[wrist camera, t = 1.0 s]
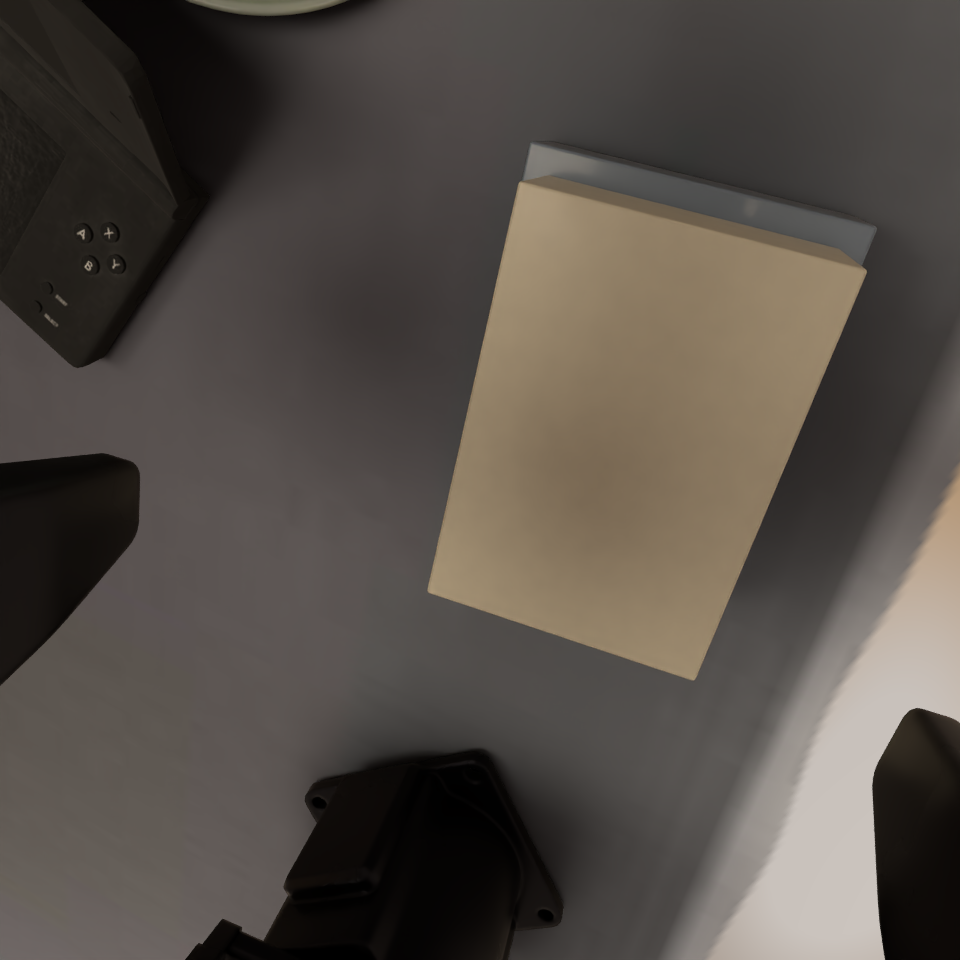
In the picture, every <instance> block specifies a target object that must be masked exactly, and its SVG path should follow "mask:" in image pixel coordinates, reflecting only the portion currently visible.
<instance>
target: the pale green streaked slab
mask: <svg viewBox="0 0 960 960" xmlns="http://www.w3.org/2000/svg"><path fill="white" fill-rule="evenodd" d="M185 1H188V2H191V3H194V4H197V5H201V6H204V7H207V8H211V9H215V10H220V11H224V12H229V13H236V14H242V15H255V16H280V15H293V14H300V13H307V12H312V11H316V10H320V9H324V8H328V7H332V6H334V5H337V4H340V3H343V2H346V1H348V0H185Z"/></svg>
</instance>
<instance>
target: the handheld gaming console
mask: <svg viewBox="0 0 960 960" xmlns="http://www.w3.org/2000/svg"><path fill="white" fill-rule="evenodd" d="M209 197H210V196H209V195H208V194H207V193H206V192H205V191H204V190H203V189H202V188H201V187H200V186H199V185H198V184H197V183H196V182H195V181H194V180H193V179H192V178H191V177H190V176H189V175H188V174H187V173H186V172H185V171H184V170H183V169H182V168H181V167H180V166H179V164H178V161H177V158H176V155H175V153H174V150H173V147H172V144H171V142H170V139H169V136H168V133H167V131H166V128H165V125H164V122H163V120H162V117H161V114H160V111H159V109H158V106H157V103H156V100H155V97H154V95H153V92H152V89H151V86H150V84H149V81H148V78H147V75H146V73H145V72H144V70H143V68H142V66H141V64H140V62H139V60H138V58H137V56H136V55H135V54H134V52H133V51H132V50H131V49H130V48H129V47H128V46H127V45H126V44H125V43H124V42H122V41H121V40H120V39H119V38H118V37H117V36H116V35H115V34H114V33H113V32H112V31H111V30H110V29H109V28H108V27H107V26H106V25H105V24H104V23H103V22H102V21H101V20H100V19H99V18H98V17H97V16H96V15H95V14H94V13H93V12H92V11H91V10H90V9H89V8H88V7H87V6H86V5H85V4H84V3H83V2H82V1H81V0H0V300H1V301H2V302H3V303H4V304H5V305H6V306H8V307H9V308H10V309H11V310H12V311H13V312H14V313H15V314H16V315H17V316H18V317H19V318H21V319H22V320H23V321H24V322H25V323H26V324H27V325H28V326H29V327H30V328H31V329H32V330H33V331H35V332H36V333H37V334H38V335H39V336H40V337H41V338H42V339H43V340H44V341H45V342H46V343H48V344H49V345H50V346H51V347H52V348H53V349H54V350H55V351H56V352H57V353H58V354H59V355H61V356H62V357H63V358H64V359H65V360H66V361H67V362H68V363H69V364H71V365H72V366H73V367H76V368H79V367H84V366H86V365H89V364H91V363H93V362H95V361H97V360H99V359H101V358H103V357H104V356H105V354H106V353H107V351H108V349H109V348H110V346H111V345H112V343H113V342H114V340H115V339H116V337H117V336H118V334H119V332H120V331H121V329H122V328H123V326H124V325H125V323H126V322H127V320H128V319H129V317H130V315H131V314H132V312H133V311H134V309H135V307H136V306H137V304H138V303H139V302H140V301H142V300H143V298H144V297H145V295H146V294H147V291H146V290H147V289H148V288H149V286H150V285H151V283H152V282H153V281H154V279H155V278H156V276H157V275H158V273H159V272H160V270H161V269H162V268H163V266H164V265H165V263H166V262H167V260H168V259H169V257H170V256H171V254H172V253H173V251H174V250H175V248H176V246H177V245H178V243H179V242H180V240H181V239H182V237H183V236H184V234H185V233H186V231H187V230H188V228H189V227H190V225H191V224H192V222H193V221H194V219H195V218H196V216H197V215H198V213H199V212H200V210H201V209H202V208H203V206H204V205H205V203H206V202H207V200H208V199H209Z"/></svg>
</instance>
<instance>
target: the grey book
mask: <svg viewBox="0 0 960 960" xmlns="http://www.w3.org/2000/svg"><path fill="white" fill-rule="evenodd" d="M547 175H549V176H553V177H557V178H561V179H565V180H569V181H573V182H577V183H581V184H585V185H589V186H593V187H597V188H601V189H605V190H609V191H613V192H617V193H620V194H624V195H628V196H632V197H636V198H640V199H644V200H648V201H652V202H656V203H660V204H664V205H668V206H672V207H676V208H680V209H684V210H688V211H692V212H696V213H699V214H703V215H707V216H711V217H715V218H719V219H723V220H727V221H731V222H735V223H739V224H743V225H747V226H751V227H755V228H759V229H763V230H767V231H771V232H775V233H778V234H782V235H786V236H790V237H794V238H798V239H802V240H806V241H810V242H814V243H818V244H822V245H826V246H830V247H834V248H838V249H840V250H841V251H842V252H844V253H845V254H846V255H848V256H849V257H850V258H851V259H853V260H854V261H855V262H857V263H858V264H859V265H861V266H862V264H863V262H864V260H865V257H866V255H867V252H868V250H869V248H870V245H871V243H872V240H873V238H874V236H875V233H876V231H877V228H876V227H875V226H874V225H872V224H870V223H868V222H865V221H863V220H861V219H859V218H857V217H855V216H852V215H848V214H844V213H840V212H836V211H832V210H828V209H824V208H820V207H815V206H811V205H807V204H803V203H799V202H795V201H791V200H787V199H783V198H779V197H775V196H771V195H767V194H763V193H759V192H755V191H751V190H747V189H743V188H739V187H735V186H731V185H726V184H722V183H718V182H714V181H710V180H706V179H702V178H698V177H694V176H690V175H686V174H682V173H678V172H674V171H670V170H666V169H662V168H658V167H654V166H650V165H646V164H641V163H637V162H633V161H629V160H625V159H621V158H617V157H613V156H609V155H605V154H601V153H597V152H593V151H589V150H585V149H581V148H577V147H573V146H569V145H565V144H561V143H556V142H552V141H533V142H531V143H530V145H529V149H528V154H527V158H526V163H525V167H524V171H523V176H522V180H521V181H525V180H530V179H534V178H538V177H543V176H547Z"/></svg>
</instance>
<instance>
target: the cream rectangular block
mask: <svg viewBox="0 0 960 960" xmlns="http://www.w3.org/2000/svg"><path fill="white" fill-rule="evenodd" d="M866 274H867V270H866V269H864V268H863V267H862V266H861V265H859V264H858V263H857V262H855V261H854V260H853V259H851V258H850V257H849V256H848V255H846V254H845V253H844V252H842V251H841V250H840V249H838V248H834V247H830V246H826V245H822V244H818V243H814V242H810V241H806V240H802V239H798V238H794V237H790V236H786V235H782V234H778V233H775V232H771V231H767V230H763V229H759V228H755V227H751V226H747V225H743V224H739V223H735V222H731V221H727V220H723V219H719V218H715V217H711V216H707V215H703V214H699V213H696V212H692V211H688V210H684V209H680V208H676V207H672V206H668V205H664V204H660V203H656V202H652V201H648V200H644V199H640V198H636V197H632V196H628V195H624V194H620V193H617V192H613V191H609V190H605V189H601V188H597V187H593V186H589V185H585V184H581V183H577V182H573V181H569V180H565V179H561V178H557V177H553V176H549V175H547V176H543V177H538V178H534V179H530V180H525V181H521V182H519V184H518V188H517V192H516V197H515V201H514V206H513V210H512V214H511V219H510V223H509V228H508V232H507V237H506V241H505V246H504V250H503V255H502V259H501V264H500V268H499V273H498V277H497V281H496V286H495V290H494V295H493V299H492V304H491V308H490V313H489V317H488V322H487V326H486V331H485V335H484V340H483V344H482V348H481V353H480V357H479V362H478V366H477V371H476V375H475V380H474V384H473V389H472V393H471V398H470V402H469V407H468V411H467V415H466V420H465V424H464V429H463V433H462V438H461V442H460V447H459V451H458V456H457V460H456V465H455V469H454V474H453V478H452V482H451V487H450V491H449V496H448V500H447V505H446V509H445V514H444V518H443V523H442V527H441V532H440V536H439V541H438V545H437V549H436V554H435V558H434V563H433V567H432V572H431V576H430V581H429V585H428V592H429V593H431V594H434V595H437V596H440V597H443V598H446V599H449V600H452V601H455V602H458V603H461V604H464V605H467V606H470V607H473V608H476V609H479V610H482V611H485V612H488V613H491V614H494V615H497V616H500V617H503V618H506V619H509V620H512V621H515V622H518V623H521V624H524V625H527V626H530V627H533V628H536V629H539V630H542V631H545V632H548V633H551V634H554V635H557V636H560V637H563V638H566V639H569V640H572V641H575V642H578V643H581V644H584V645H587V646H590V647H593V648H596V649H599V650H602V651H605V652H608V653H611V654H614V655H617V656H620V657H623V658H626V659H629V660H632V661H635V662H638V663H641V664H644V665H647V666H650V667H653V668H656V669H659V670H662V671H665V672H668V673H671V674H674V675H677V676H680V677H683V678H686V679H689V680H692V681H694V680H695V679H696V677H697V674H698V672H699V669H700V667H701V665H702V662H703V660H704V658H705V655H706V653H707V650H708V648H709V646H710V643H711V641H712V639H713V636H714V634H715V631H716V629H717V627H718V624H719V622H720V620H721V617H722V615H723V613H724V610H725V608H726V605H727V603H728V601H729V598H730V596H731V594H732V591H733V589H734V586H735V584H736V582H737V579H738V577H739V575H740V572H741V570H742V567H743V565H744V563H745V560H746V558H747V556H748V553H749V551H750V549H751V546H752V544H753V541H754V539H755V537H756V534H757V532H758V530H759V527H760V525H761V522H762V520H763V518H764V515H765V513H766V511H767V508H768V506H769V503H770V501H771V499H772V496H773V494H774V492H775V489H776V487H777V485H778V482H779V480H780V477H781V475H782V473H783V470H784V468H785V466H786V463H787V461H788V458H789V456H790V454H791V451H792V449H793V447H794V444H795V442H796V439H797V437H798V435H799V432H800V430H801V428H802V425H803V423H804V421H805V418H806V416H807V413H808V411H809V409H810V406H811V404H812V402H813V399H814V397H815V394H816V392H817V390H818V387H819V385H820V383H821V380H822V378H823V375H824V373H825V371H826V368H827V366H828V364H829V361H830V359H831V357H832V354H833V352H834V349H835V347H836V345H837V342H838V340H839V338H840V335H841V333H842V330H843V328H844V326H845V323H846V321H847V319H848V316H849V314H850V311H851V309H852V307H853V304H854V302H855V300H856V297H857V295H858V293H859V290H860V288H861V285H862V283H863V281H864V278H865V276H866Z"/></svg>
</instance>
